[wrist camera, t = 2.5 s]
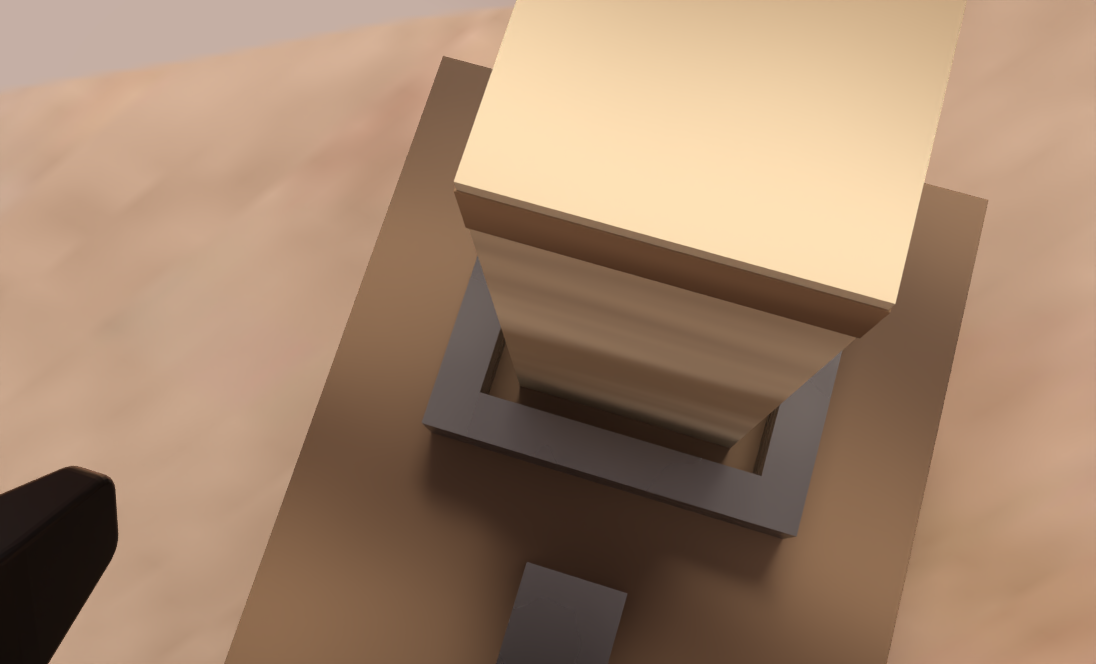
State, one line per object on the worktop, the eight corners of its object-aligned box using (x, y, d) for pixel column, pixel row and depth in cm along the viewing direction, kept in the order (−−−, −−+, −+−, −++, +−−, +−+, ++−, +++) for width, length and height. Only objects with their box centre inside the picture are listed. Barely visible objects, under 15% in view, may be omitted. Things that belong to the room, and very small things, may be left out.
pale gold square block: (731, 449, 18) (897, 307, 9) (518, 387, 19) (450, 183, 9) (784, 246, 19) (990, -91, 10) (580, 190, 20) (579, -188, 10)
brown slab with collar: (719, 1128, 19) (768, 1322, 14) (188, 934, 20) (59, 1052, 15) (920, 263, 23) (1014, 175, 18) (465, 138, 24) (434, 24, 19)
